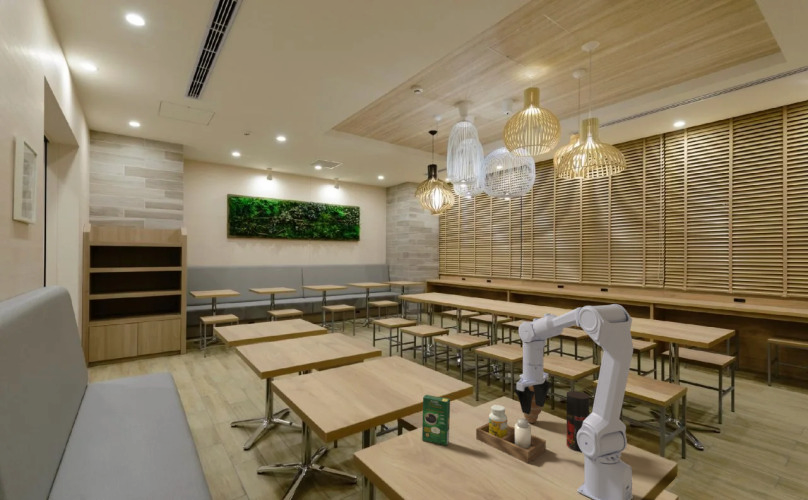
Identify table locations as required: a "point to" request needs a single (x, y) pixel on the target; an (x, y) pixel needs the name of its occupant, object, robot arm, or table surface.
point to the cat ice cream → (533, 410)
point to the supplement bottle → (498, 421)
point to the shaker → (523, 434)
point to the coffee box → (436, 419)
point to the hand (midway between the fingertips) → (533, 409)
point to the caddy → (511, 443)
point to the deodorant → (576, 416)
